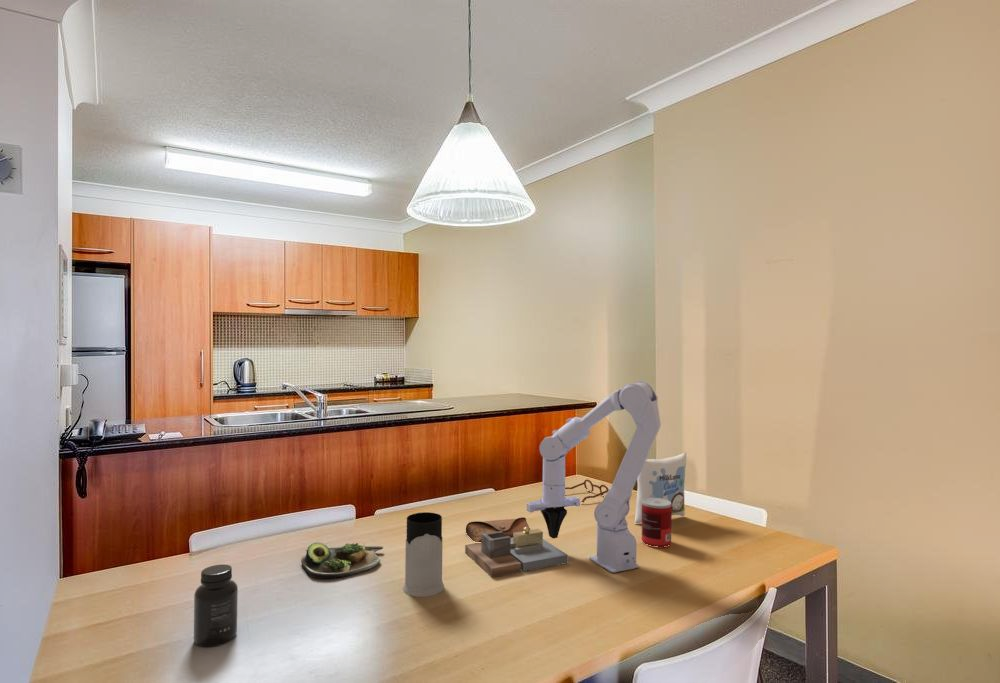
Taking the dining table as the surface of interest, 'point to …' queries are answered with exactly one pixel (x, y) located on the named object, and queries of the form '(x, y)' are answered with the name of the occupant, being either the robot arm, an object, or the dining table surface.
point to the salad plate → (338, 560)
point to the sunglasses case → (495, 527)
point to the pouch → (662, 483)
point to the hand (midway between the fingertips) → (553, 536)
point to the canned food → (656, 521)
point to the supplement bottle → (215, 607)
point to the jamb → (494, 554)
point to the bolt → (527, 538)
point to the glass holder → (423, 555)
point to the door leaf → (538, 556)
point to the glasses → (591, 490)
